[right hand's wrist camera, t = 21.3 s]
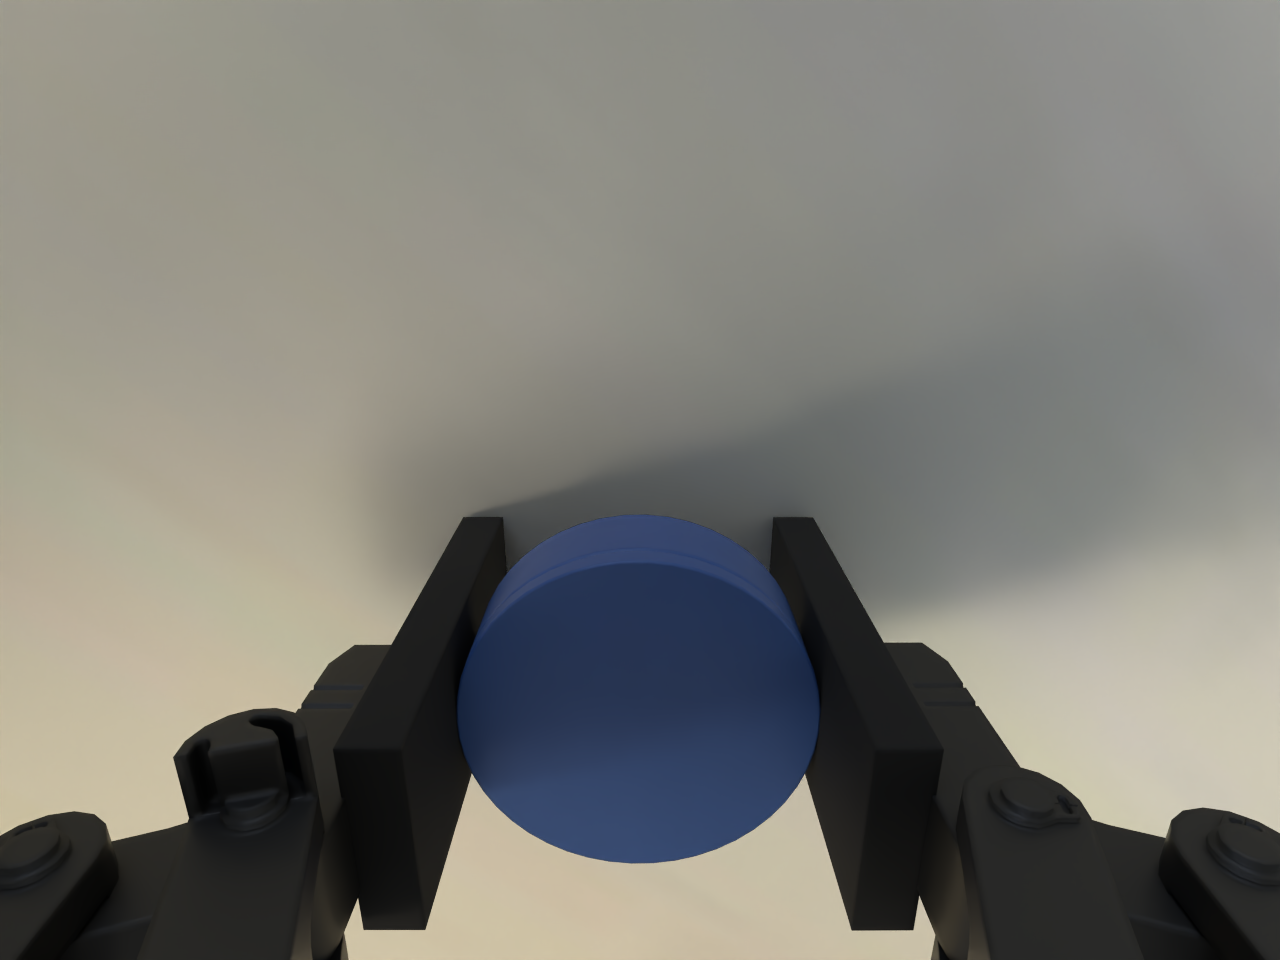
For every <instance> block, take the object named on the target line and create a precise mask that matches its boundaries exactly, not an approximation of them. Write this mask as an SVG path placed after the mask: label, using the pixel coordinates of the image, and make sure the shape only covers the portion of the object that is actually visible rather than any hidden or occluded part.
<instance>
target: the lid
mask: <svg viewBox="0 0 1280 960" xmlns="http://www.w3.org/2000/svg"><path fill="white" fill-rule="evenodd" d="M820 713H821V708H820V696H819V689H818V685H817V681H816V676H815V672H814V669H813V667H812V664H811V661H810V659H809V656H808V653H807V650H806V648H805V645H804V642H803V639H802V637H801V634H800V631H799V629H798V626H797V623H796V620H795V618H794V615H793V613H792V610H791V608H790V605H789V603H788V601H787V598H786V596H785V595H784V593H783V591H782V590H781V588H780V586H779V585H778V583H777V582H776V580H775V579H774V578H773V576H772V575H771V574H770V573H769V572H768V570H767V569H766V568H765V567H764V566H763V565H762V564H761V563H760V562H759V561H758V560H757V559H756V558H755V557H754V556H753V555H751V554H750V553H749V552H748V551H747V550H745V549H744V548H742V547H741V546H739V545H738V544H737V543H735V542H734V541H732V540H731V539H729V538H727V537H725V536H723V535H721V534H719V533H717V532H715V531H713V530H711V529H709V528H706V527H703V526H700V525H698V524H695V523H692V522H689V521H684V520H680V519H675V518H671V517H664V516H655V515H621V516H614V517H607V518H600V519H597V520H593V521H589V522H586V523H582V524H579V525H576V526H574V527H571V528H569V529H566V530H564V531H562V532H559V533H557V534H556V535H554V536H552V537H550V538H549V539H547V540H545V541H543V542H542V543H540V544H539V545H537V546H536V547H535V548H533V549H532V550H531V551H530V552H528V553H527V554H526V555H524V556H523V557H522V558H521V559H520V560H519V561H518V562H517V563H516V564H515V565H514V566H513V567H512V568H511V569H510V570H509V572H508V573H507V574H506V576H505V577H504V578H503V580H502V581H501V582H500V584H499V585H498V587H497V588H496V590H495V592H494V594H493V596H492V598H491V599H490V601H489V603H488V606H487V609H486V611H485V614H484V616H483V619H482V622H481V624H480V627H479V629H478V632H477V635H476V637H475V640H474V642H473V645H472V648H471V650H470V653H469V655H468V658H467V661H466V664H465V666H464V669H463V672H462V675H461V678H460V683H459V688H458V693H457V709H456V715H457V726H458V734H459V739H460V742H461V746H462V749H463V753H464V756H465V759H466V761H467V763H468V765H469V767H470V770H471V772H472V774H473V776H474V777H475V779H476V780H477V782H478V783H479V785H480V787H481V788H482V790H483V791H484V792H485V794H486V795H487V796H488V797H489V798H490V800H491V801H492V802H493V803H494V804H495V805H496V807H497V808H499V809H500V810H501V811H502V812H503V813H504V814H505V815H506V816H507V817H508V818H509V819H511V820H512V821H513V822H514V823H516V824H517V825H519V826H520V827H521V828H523V829H524V830H526V831H527V832H528V833H530V834H532V835H534V836H536V837H537V838H539V839H541V840H543V841H545V842H546V843H549V844H551V845H553V846H556V847H558V848H561V849H563V850H565V851H568V852H571V853H575V854H578V855H581V856H585V857H588V858H593V859H599V860H604V861H609V862H621V863H658V862H667V861H675V860H680V859H684V858H689V857H693V856H697V855H700V854H703V853H706V852H709V851H712V850H715V849H718V848H720V847H722V846H724V845H727V844H729V843H731V842H733V841H735V840H737V839H739V838H740V837H742V836H744V835H745V834H747V833H749V832H751V831H752V830H754V829H755V828H756V827H758V826H759V825H760V824H762V823H763V822H764V821H766V820H767V819H768V818H769V817H771V816H772V815H773V814H774V813H775V812H776V811H777V810H778V809H779V808H780V807H781V806H782V805H783V804H784V803H785V802H786V800H787V799H788V798H789V797H790V795H791V794H792V793H793V791H794V790H795V789H796V787H797V786H798V784H799V783H800V781H801V779H802V777H803V776H804V774H805V772H806V770H807V769H808V766H809V763H810V761H811V758H812V756H813V753H814V751H815V747H816V743H817V738H818V734H819V725H820Z"/></svg>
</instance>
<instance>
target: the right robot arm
mask: <svg viewBox="0 0 1280 960" xmlns="http://www.w3.org/2000/svg"><path fill="white" fill-rule="evenodd" d="M506 574H507V572H506V557H505V542H504V528H503V517H463V519H462V521H461V522H460V524H459V526H458V528H457V530H456V531H455V533H454V535H453V537H452V538H451V540H450V542H449V544H448V546H447V547H446V549H445V551H444V553H443V554H442V556H441V558H440V560H439V561H438V563H437V565H436V567H435V569H434V570H433V572H432V574H431V576H430V577H429V579H428V581H427V583H426V585H425V586H424V588H423V590H422V592H421V593H420V595H419V597H418V599H417V600H416V602H415V604H414V606H413V608H412V609H411V611H410V613H409V615H408V616H407V618H406V620H405V622H404V624H403V625H402V627H401V629H400V631H399V632H398V634H397V636H396V638H395V639H394V641H393V643H392V645H354V646H353V647H351V648H350V649H349V650H347V651H346V652H344V653H343V654H342V655H340V656H339V657H338V658H336V659H335V660H333V661H332V662H331V663H329V664H328V666H327V667H326V669H325V670H324V672H323V673H322V675H321V676H320V678H319V679H318V681H317V682H316V684H315V685H314V690H311V691H310V692H309V694H308V695H307V697H306V698H305V700H304V701H303V703H302V707H301V709H298V710H297V712H296V713H294V712H290V711H286V710H282V709H278V708H270V709H252V710H248V711H244V712H241V713H237V714H233V715H229V716H227V717H224V718H222V719H220V720H218V721H216V722H214V723H211V724H209V725H207V726H205V727H204V728H202V729H201V730H199V731H198V732H197V733H195V734H194V735H193V736H191V737H190V738H189V739H187V740H186V741H185V742H184V743H183V745H182V746H181V747H180V749H179V750H178V752H177V753H176V754H175V756H174V757H173V758H174V762H175V766H176V770H177V774H178V778H179V781H180V785H181V789H182V793H183V797H184V800H185V804H186V808H187V812H188V816H189V820H188V823H184V824H181V825H178V826H174V827H171V828H168V829H163V830H159V831H155V832H151V833H146V834H142V835H138V836H133V837H129V838H125V839H121V840H116V841H112V842H111V839H110V836H109V833H108V829H107V826H106V824H105V823H104V822H103V821H102V820H101V819H99V818H98V817H97V816H96V815H95V814H89V813H82V812H75V811H73V812H67V813H60V814H53V815H47V816H45V817H42V818H39V819H36V820H33V821H30V822H28V823H25V824H22V825H19V826H17V827H15V828H13V829H12V830H10V831H8V832H6V833H4V834H3V835H1V836H0V960H348V954H347V947H346V941H345V935H344V931H345V928H346V926H347V923H348V921H349V919H350V916H351V914H352V911H353V909H354V906H355V904H356V901H357V899H359V905H360V911H361V917H362V922H363V928H364V930H425V929H426V926H427V922H428V919H429V916H430V912H431V909H432V905H433V902H434V899H435V895H436V892H437V889H438V885H439V882H440V878H441V875H442V872H443V868H444V865H445V862H446V858H447V855H448V851H449V848H450V845H451V841H452V838H453V835H454V831H455V828H456V824H457V821H458V818H459V814H460V811H461V808H462V804H463V801H464V797H465V794H466V791H467V787H468V784H469V781H470V777H471V774H472V772H471V770H470V767H469V765H468V763H467V761H466V759H465V756H464V753H463V749H462V746H461V742H460V739H459V734H458V726H457V715H456V709H457V693H458V688H459V683H460V678H461V675H462V672H463V669H464V666H465V664H466V661H467V658H468V655H469V653H470V650H471V648H472V645H473V642H474V640H475V637H476V635H477V632H478V629H479V627H480V624H481V622H482V619H483V616H484V614H485V611H486V609H487V606H488V603H489V601H490V599H491V598H492V596H493V594H494V592H495V590H496V588H497V587H498V585H499V584H500V582H501V581H502V580H503V578H504V577H505V576H506ZM770 574H771V575H772V576H773V578H774V579H775V580H776V582H777V583H778V585H779V586H780V588H781V590H782V591H783V593H784V595H785V596H786V598H787V601H788V603H789V605H790V608H791V610H792V613H793V615H794V618H795V620H796V623H797V626H798V629H799V631H800V634H801V637H802V639H803V642H804V645H805V648H806V650H807V653H808V656H809V659H810V661H811V664H812V667H813V669H814V672H815V676H816V681H817V685H818V689H819V696H820V708H821V713H820V725H819V734H818V738H817V743H816V747H815V751H814V753H813V756H812V758H811V761H810V763H809V766H808V769H807V770H806V772H805V775H806V778H807V782H808V785H809V788H810V792H811V795H812V798H813V802H814V805H815V809H816V812H817V815H818V819H819V822H820V825H821V829H822V832H823V835H824V839H825V842H826V845H827V849H828V852H829V856H830V859H831V862H832V866H833V869H834V872H835V876H836V879H837V882H838V886H839V889H840V892H841V896H842V899H843V903H844V906H845V909H846V913H847V916H848V919H849V923H850V926H851V929H852V930H913V929H914V923H915V917H916V911H917V905H918V900H919V896H920V898H921V900H922V903H923V905H924V908H925V910H926V913H927V915H928V918H929V920H930V922H931V925H932V927H933V930H934V932H935V941H934V946H933V952H932V957H931V960H1280V833H1278V832H1276V831H1275V830H1273V829H1271V828H1269V827H1267V826H1265V825H1264V824H1262V823H1260V822H1258V821H1255V820H1252V819H1249V818H1247V817H1244V816H1241V815H1238V814H1235V813H1232V812H1229V811H1223V810H1216V809H1209V808H1197V809H1191V810H1184V811H1182V812H1181V813H1179V814H1178V815H1177V816H1176V817H1175V818H1174V819H1172V820H1171V823H1170V827H1169V830H1168V833H1167V836H1166V838H1163V837H1159V836H1154V835H1150V834H1146V833H1141V832H1137V831H1133V830H1128V829H1124V828H1119V827H1115V826H1111V825H1107V824H1104V823H1100V822H1097V821H1094V820H1092V819H1091V817H1090V815H1089V814H1088V812H1087V811H1086V809H1085V807H1084V806H1083V804H1082V803H1081V801H1080V800H1079V799H1078V798H1077V797H1075V796H1074V795H1073V794H1072V793H1071V792H1070V791H1068V790H1067V789H1066V788H1065V787H1064V786H1062V785H1061V784H1059V783H1057V782H1055V781H1054V780H1052V779H1050V778H1048V777H1046V776H1044V775H1042V774H1040V773H1038V772H1034V771H1031V770H1027V769H1024V768H1020V766H1019V765H1018V763H1017V762H1016V760H1015V759H1014V757H1013V756H1012V754H1011V753H1010V752H1009V750H1008V749H1007V747H1006V746H1005V744H1004V743H1003V741H1002V740H1001V738H1000V737H999V735H998V734H997V733H996V731H995V730H994V728H993V727H992V725H991V724H990V722H989V721H988V719H987V718H986V716H985V715H984V713H983V712H982V711H981V709H980V708H979V706H976V705H975V700H974V699H973V697H972V696H971V694H970V693H969V692H968V690H967V689H966V688H963V683H962V681H961V680H960V678H959V677H958V675H957V674H956V672H955V671H954V670H953V668H952V667H951V665H950V664H949V662H948V661H947V660H945V659H944V658H942V657H941V656H940V655H938V654H937V653H936V652H934V651H933V650H931V649H930V648H929V647H927V646H926V645H924V644H923V643H884V642H883V641H882V639H881V637H880V635H879V633H878V632H877V630H876V628H875V626H874V625H873V623H872V621H871V619H870V618H869V616H868V614H867V612H866V610H865V609H864V607H863V605H862V603H861V602H860V600H859V598H858V596H857V595H856V593H855V591H854V589H853V588H852V586H851V584H850V582H849V580H848V579H847V577H846V575H845V573H844V572H843V570H842V568H841V566H840V565H839V563H838V561H837V559H836V557H835V556H834V554H833V552H832V550H831V549H830V547H829V545H828V543H827V542H826V540H825V538H824V536H823V535H822V533H821V531H820V529H819V527H818V526H817V524H816V522H815V520H814V519H813V517H773V532H772V547H771V562H770Z"/></svg>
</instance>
